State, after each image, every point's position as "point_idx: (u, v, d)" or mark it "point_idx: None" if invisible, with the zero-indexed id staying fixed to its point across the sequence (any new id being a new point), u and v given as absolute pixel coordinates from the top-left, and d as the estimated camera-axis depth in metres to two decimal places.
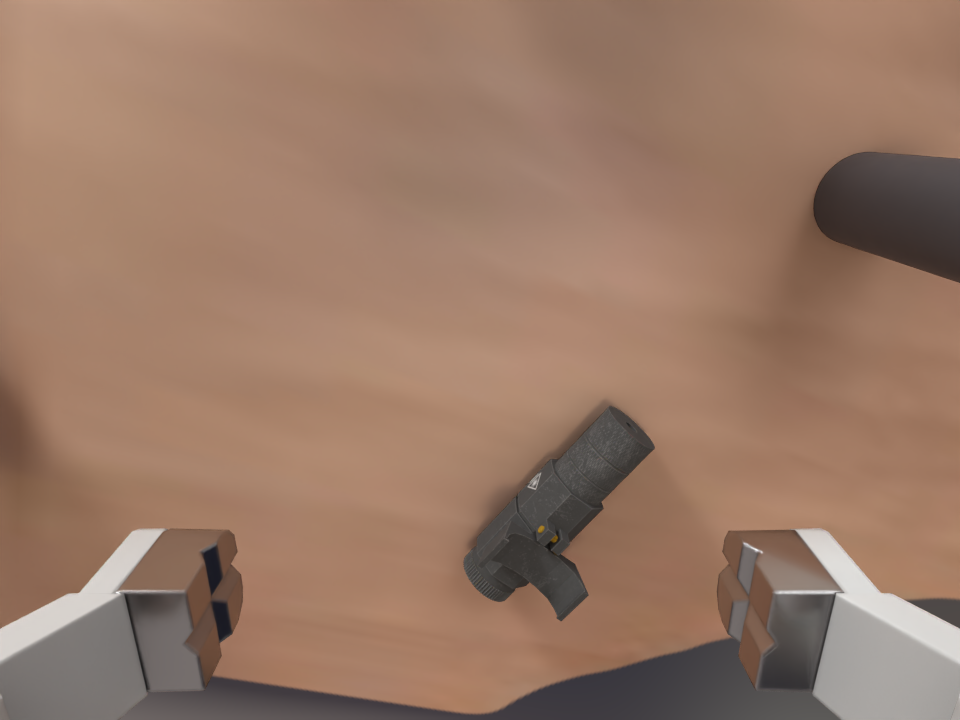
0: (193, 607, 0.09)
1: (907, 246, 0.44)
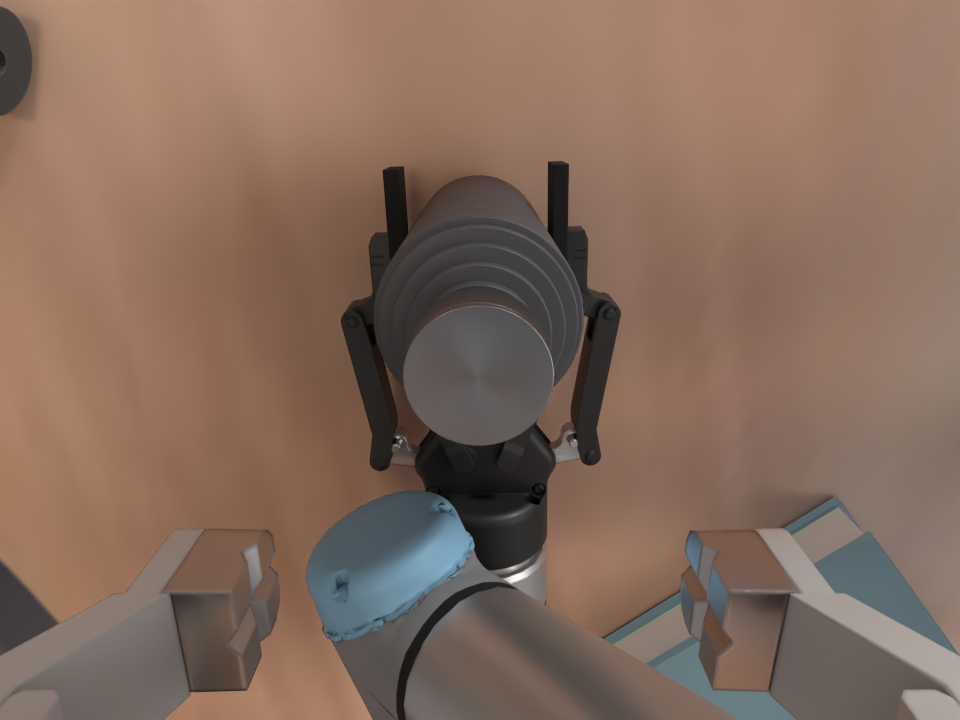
0: (237, 606, 0.09)
1: (411, 230, 0.28)
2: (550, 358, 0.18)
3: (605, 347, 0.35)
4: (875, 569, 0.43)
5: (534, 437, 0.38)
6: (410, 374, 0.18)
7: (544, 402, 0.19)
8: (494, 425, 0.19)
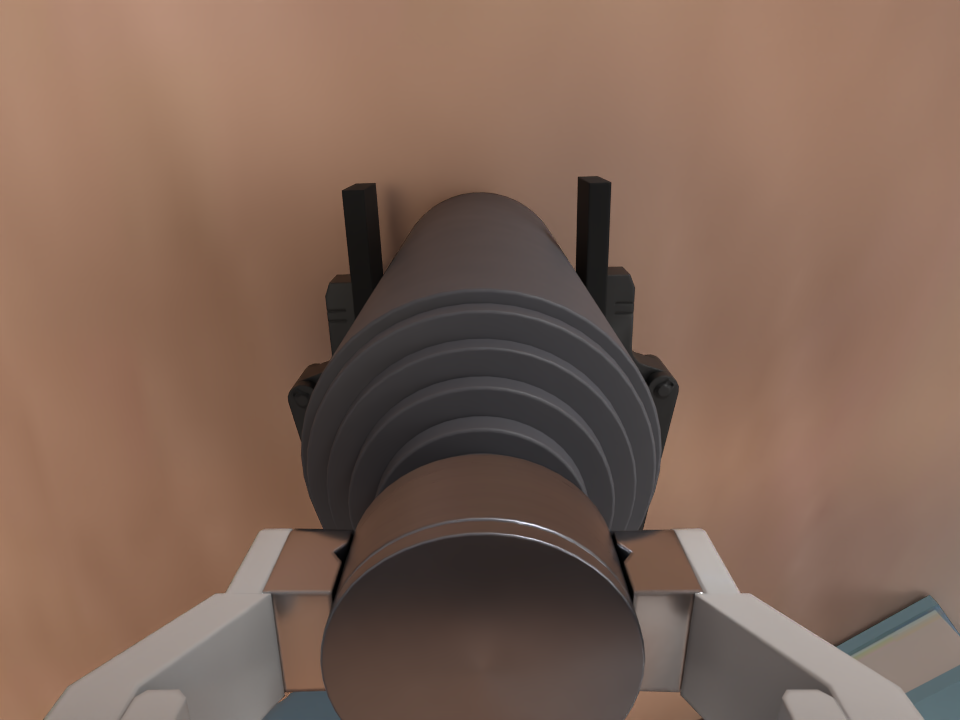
0: None
1: (376, 287, 0.18)
2: (638, 633, 0.08)
3: None
4: None
5: None
6: (336, 662, 0.09)
7: (621, 713, 0.09)
8: None
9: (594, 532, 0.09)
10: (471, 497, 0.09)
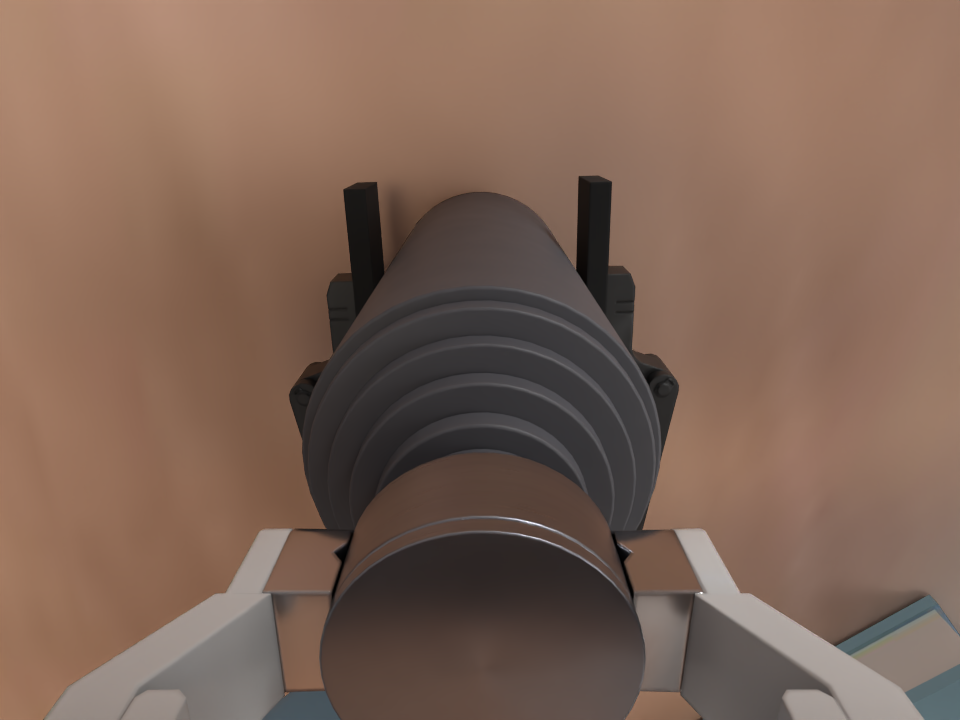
0: None
1: (378, 286, 0.18)
2: (459, 533, 0.08)
3: None
4: None
5: None
6: None
7: (565, 560, 0.08)
8: (599, 655, 0.09)
9: (391, 514, 0.09)
10: None
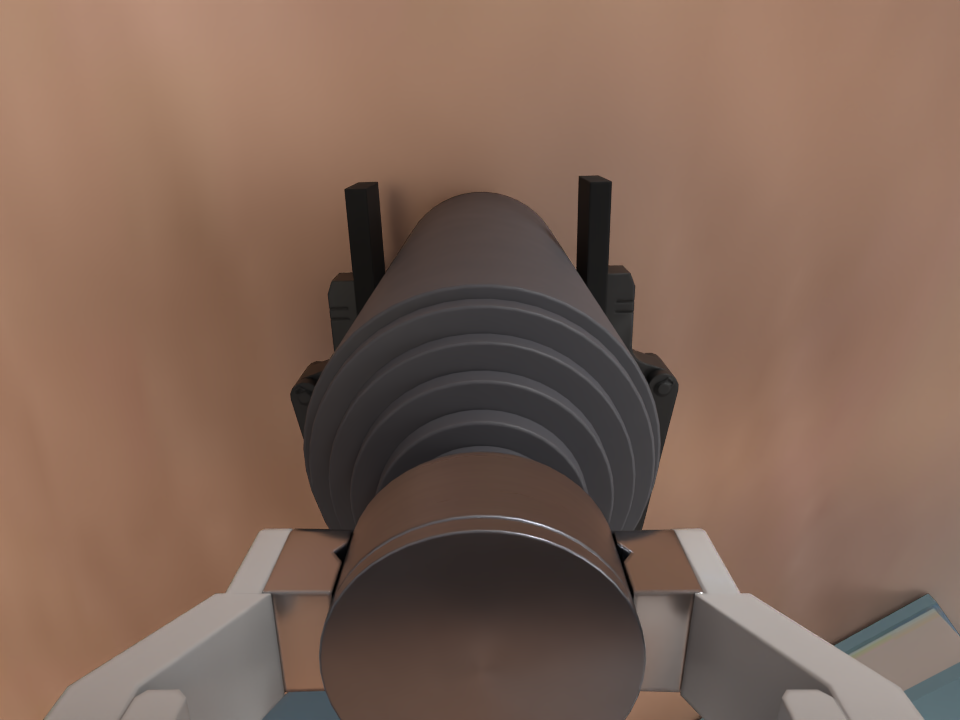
0: None
1: (378, 284, 0.18)
2: (322, 664, 0.09)
3: None
4: None
5: None
6: (615, 709, 0.09)
7: (354, 592, 0.08)
8: (482, 571, 0.08)
9: None
10: None
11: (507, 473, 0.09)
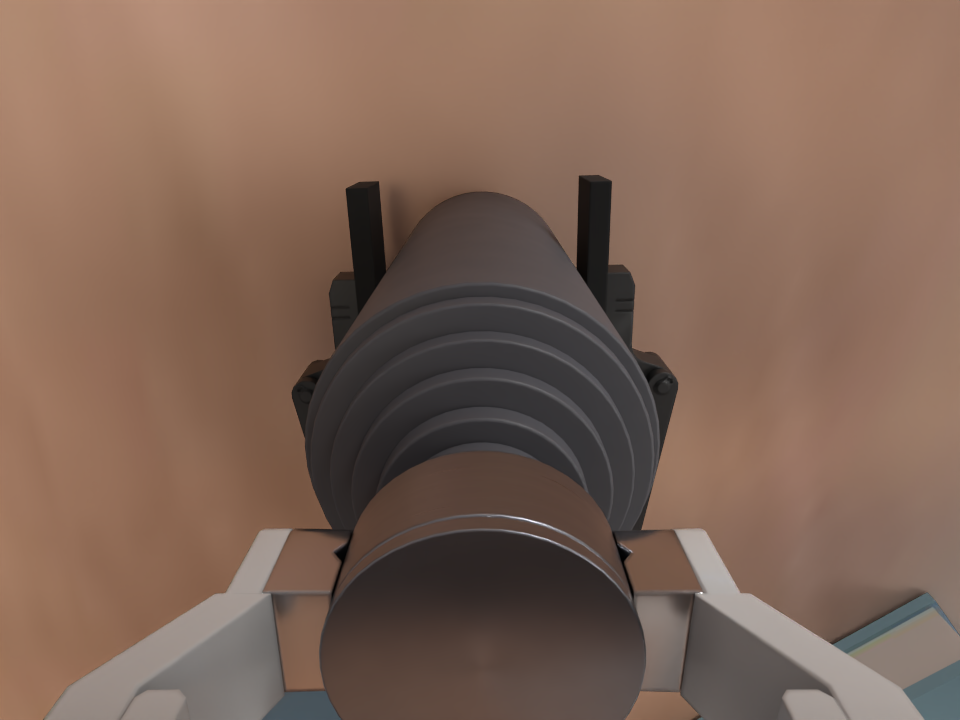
0: None
1: (379, 283, 0.18)
2: None
3: None
4: None
5: None
6: (561, 562, 0.08)
7: None
8: (365, 652, 0.08)
9: None
10: None
11: None
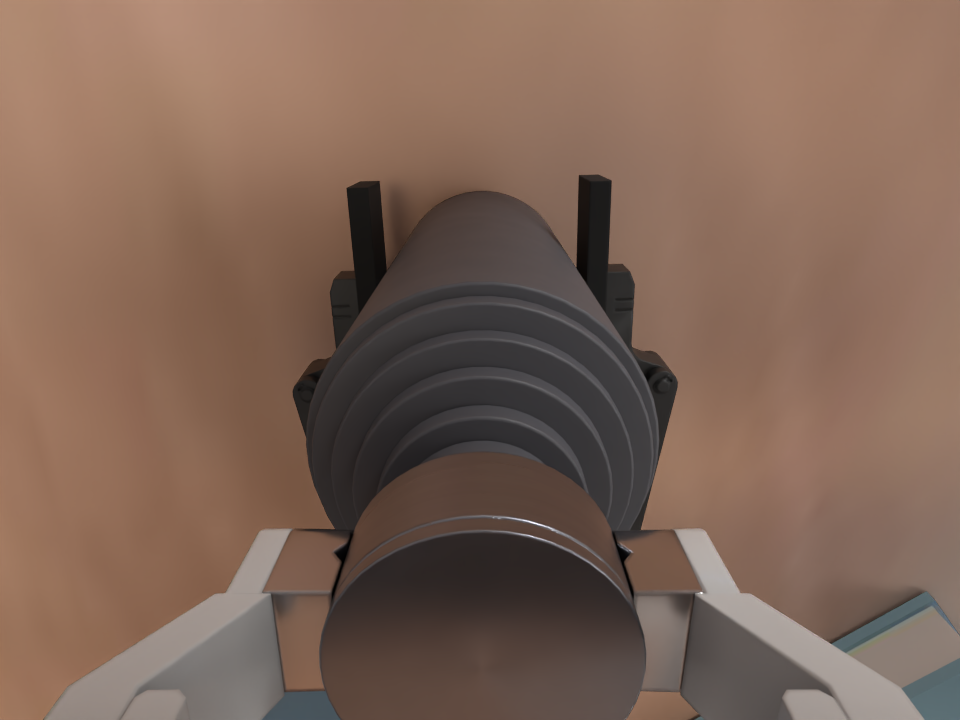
0: None
1: (380, 282, 0.18)
2: (629, 706, 0.09)
3: None
4: None
5: None
6: (362, 593, 0.08)
7: None
8: None
9: None
10: (566, 515, 0.09)
11: None
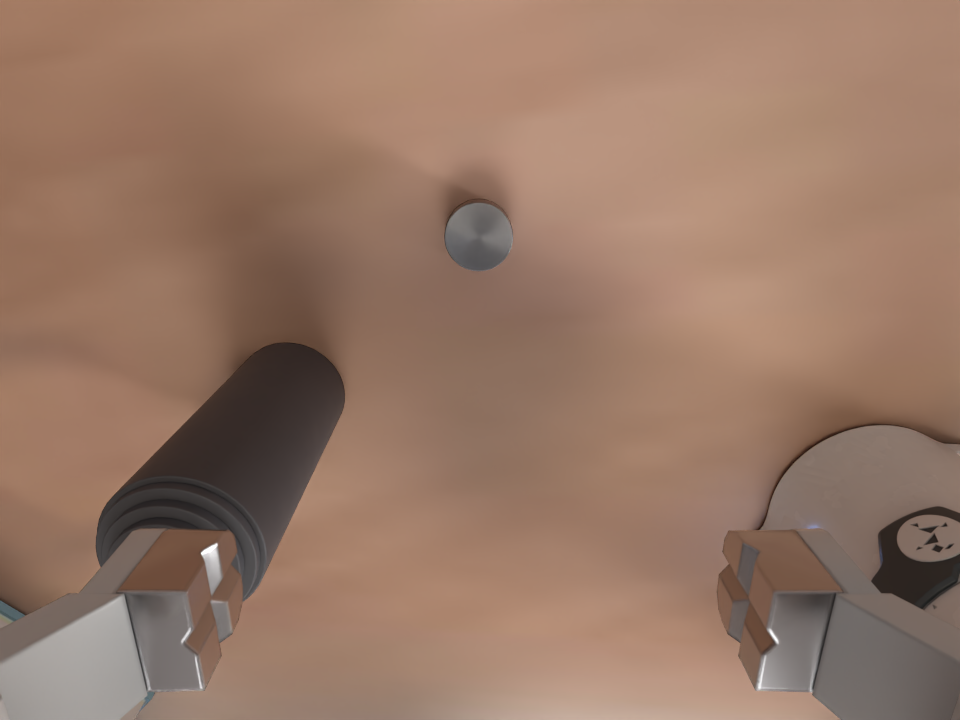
0: (192, 607, 0.09)
1: (257, 431, 0.34)
2: (494, 207, 0.40)
3: None
4: None
5: None
6: (456, 258, 0.41)
7: (508, 223, 0.41)
8: (500, 248, 0.41)
9: (478, 200, 0.41)
10: (452, 213, 0.41)
11: None
